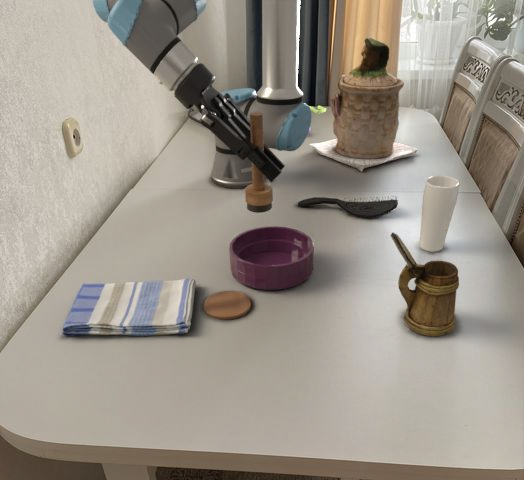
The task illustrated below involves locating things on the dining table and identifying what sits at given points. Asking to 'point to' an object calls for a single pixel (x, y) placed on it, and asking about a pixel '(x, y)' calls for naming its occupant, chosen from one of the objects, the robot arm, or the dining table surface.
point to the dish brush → (258, 172)
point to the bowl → (271, 257)
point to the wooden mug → (428, 293)
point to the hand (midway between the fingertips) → (278, 173)
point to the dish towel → (132, 308)
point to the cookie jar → (366, 113)
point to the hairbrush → (356, 206)
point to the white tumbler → (437, 211)
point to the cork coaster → (227, 305)
